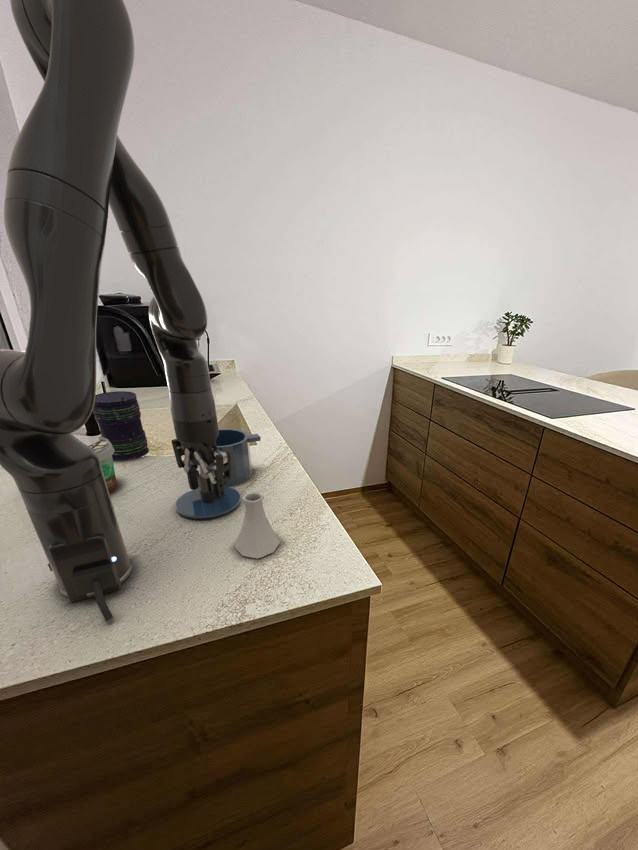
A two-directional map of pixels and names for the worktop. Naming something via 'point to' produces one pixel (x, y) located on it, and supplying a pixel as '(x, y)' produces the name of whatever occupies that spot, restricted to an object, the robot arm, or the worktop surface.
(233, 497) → the pot lid
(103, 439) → the food container
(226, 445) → the two-handled cooking pot
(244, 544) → the flask
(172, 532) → the worktop surface
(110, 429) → the storage jar
